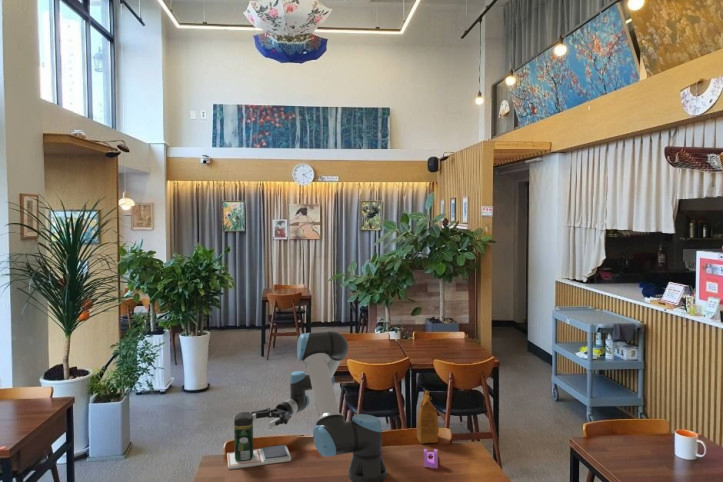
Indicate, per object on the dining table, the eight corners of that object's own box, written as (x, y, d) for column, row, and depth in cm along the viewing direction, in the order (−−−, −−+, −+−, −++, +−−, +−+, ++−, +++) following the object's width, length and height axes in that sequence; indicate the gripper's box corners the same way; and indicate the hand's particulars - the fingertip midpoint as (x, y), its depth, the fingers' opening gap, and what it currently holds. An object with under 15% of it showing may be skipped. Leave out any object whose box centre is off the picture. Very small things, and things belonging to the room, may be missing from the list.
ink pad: (289, 457, 216) (289, 455, 216) (263, 461, 212) (263, 458, 212) (285, 446, 228) (285, 444, 228) (260, 449, 225) (260, 447, 225)
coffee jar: (235, 453, 221) (235, 410, 221) (253, 451, 222) (253, 409, 222) (233, 462, 211) (233, 418, 212) (252, 461, 213) (252, 417, 213)
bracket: (437, 468, 207) (437, 451, 207) (424, 468, 208) (423, 451, 208) (436, 455, 220) (436, 439, 220) (424, 454, 220) (423, 438, 221)
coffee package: (437, 434, 243) (436, 389, 243) (439, 445, 231) (438, 397, 231) (416, 434, 244) (415, 389, 244) (417, 444, 231) (417, 396, 231)
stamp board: (291, 460, 215) (291, 457, 215) (228, 469, 208) (228, 466, 208) (286, 448, 229) (286, 445, 229) (227, 455, 221) (227, 452, 221)
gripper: (307, 421, 237) (280, 436, 219) (265, 413, 249) (236, 427, 230) (307, 405, 238) (280, 419, 219) (265, 398, 249) (236, 410, 230)
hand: (257, 423), depth 225 cm, fingers open, 13 cm apart
